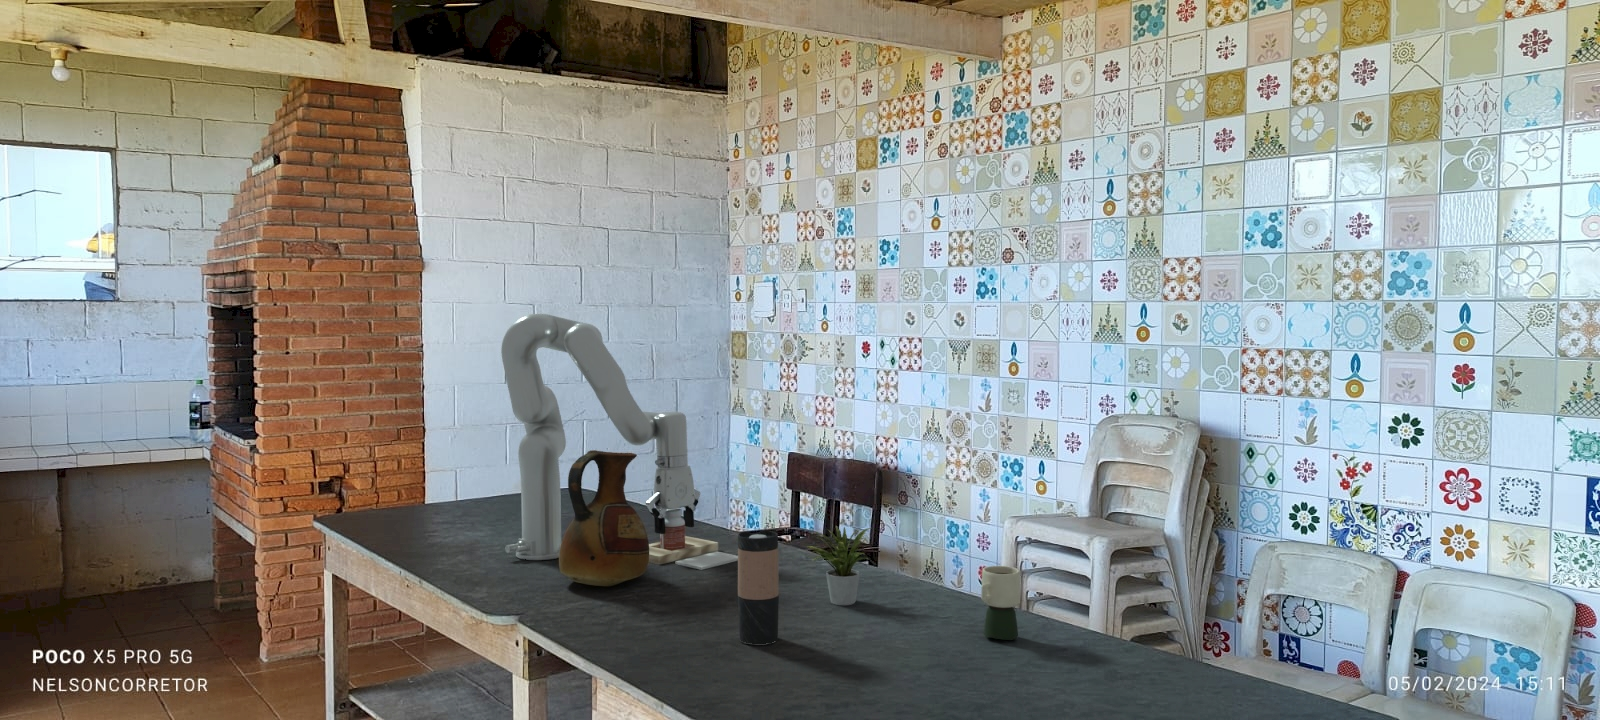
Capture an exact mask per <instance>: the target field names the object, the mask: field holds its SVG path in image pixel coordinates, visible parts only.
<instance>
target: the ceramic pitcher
mask: <svg viewBox="0 0 1600 720" xmlns="http://www.w3.org/2000/svg"><path fill="white" fill-rule="evenodd" d="M636 457H638V456H637V454H636V453H633V452H614V451H613V452H611V451H610V452H609V451H601V450H594V449H593V450H588V451H587V453H585V454H584V455H581V456H580V457H578V459H576V460H575V461H574V462H573V464H572V465H571V467H570V468H569V472H568V477H567V488H568V489H567V490H568V494H569V499H570V501H571V505H572V508H573V509H572V510H573V511H574V517H573V519H572V520H571V522H570V523H569V524H568V527H567V528H566V530H565V533H564V535H563V536H562V538H561V547H560V552H559V558H558V566H559V572H560V574H562V575H563V576H565V577H567V578H569V579H571V580H572V581H573V582H575V583H579V584H584V585H589V586H595V587H596V586H597V587H613V586H616V585H619V584H622V583H623V582H626V581H629V580H633V579H636V578H639V577H640V576H642V575H643V574H644V573H646V571H647V569H648V567H649V566H648V565H649V544H650V543H649V537H648V534H647V533H648V532H647V529H646V527H645V524H644V521H643V520H642V518H641V517H640V515H639V514H638V513H637V511H636V510H635V509H634V507H632V506H631V505H630V504H629V503H628V502H627V499H626V495H625V488H624V487H625V483H626V480H627V476H626V473H627V468H628V466H629V464H630V463H631V462H632V461H633V460H634V459H636ZM590 462H595V464H596V465H597V469H598V485H597V489H596V492H595V496H594V497H593V499H592V501H591V502H589V503H588V504H586V502H585V498H584V497H583V492H582V483H583V482H582V481H583V475H584V471H585V469H586V466H587V465H588V464H589V463H590Z"/></svg>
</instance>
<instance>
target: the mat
mask: <svg viewBox="0 0 1600 720" xmlns="http://www.w3.org/2000/svg"><path fill="white" fill-rule="evenodd" d="M674 562H675V565H679V566H683V567H688V568H692V569H697V570H700V571H702V570H706V569H710V568H715V567H718V566H722V565H725V564H726V565H727V564H729V563H733V562H734V563H735V562H738V555H736V554H731V553H726V552H722V551H714V552H709V553H705V554H701V555H697V556H693V557H689V558H685V559H681V560H676V561H674Z"/></svg>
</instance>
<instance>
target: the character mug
mask: <svg viewBox="0 0 1600 720" xmlns="http://www.w3.org/2000/svg"><path fill="white" fill-rule="evenodd" d="M980 591H981V592H980V593H981V594H980V595H981V596H980V598H981V601H982V602H983V603H984V604H985V605H987V606H988V607H987V610H986V614H985V620H984V621H985V622H984V629H983V630H984V631H983V636H984V637H986V638H990V639H991V638H992V639H994V640H995V641H998V640H1002V641H1003V640H1004V641H1005V640H1007V641H1009V640H1010V641H1012V640H1015V639H1017V638H1018V636H1019V629H1018V622H1017V615H1016V614H1017V613H1016V610H1015V608H1014V607H1017V606H1019V605H1020V603H1021V570H1020V569H1019V568H1018V567H1014V566H1013V567H1012V566H1008V565H1006V566H1005V565H991V566H990V565H989V566H985V567H983V568H982V571H981V590H980Z"/></svg>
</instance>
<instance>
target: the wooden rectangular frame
mask: <svg viewBox="0 0 1600 720" xmlns="http://www.w3.org/2000/svg"><path fill="white" fill-rule="evenodd" d="M713 552H719V542H718V541H712V540H709V539H703V538H698V537H693V536H692V537H691V536H687V535H685V548H682V549H678V550H674V551H670V550H665V549H661V544H660V541H656V542H653V543H649V562H648V564H649V563H650V564H655V565H660V566H661V565H663V564H667V563H671V562H676V561H680V560H684V559H688V558H692V557H696V556H700V555H704V554H708V553H713Z"/></svg>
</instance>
